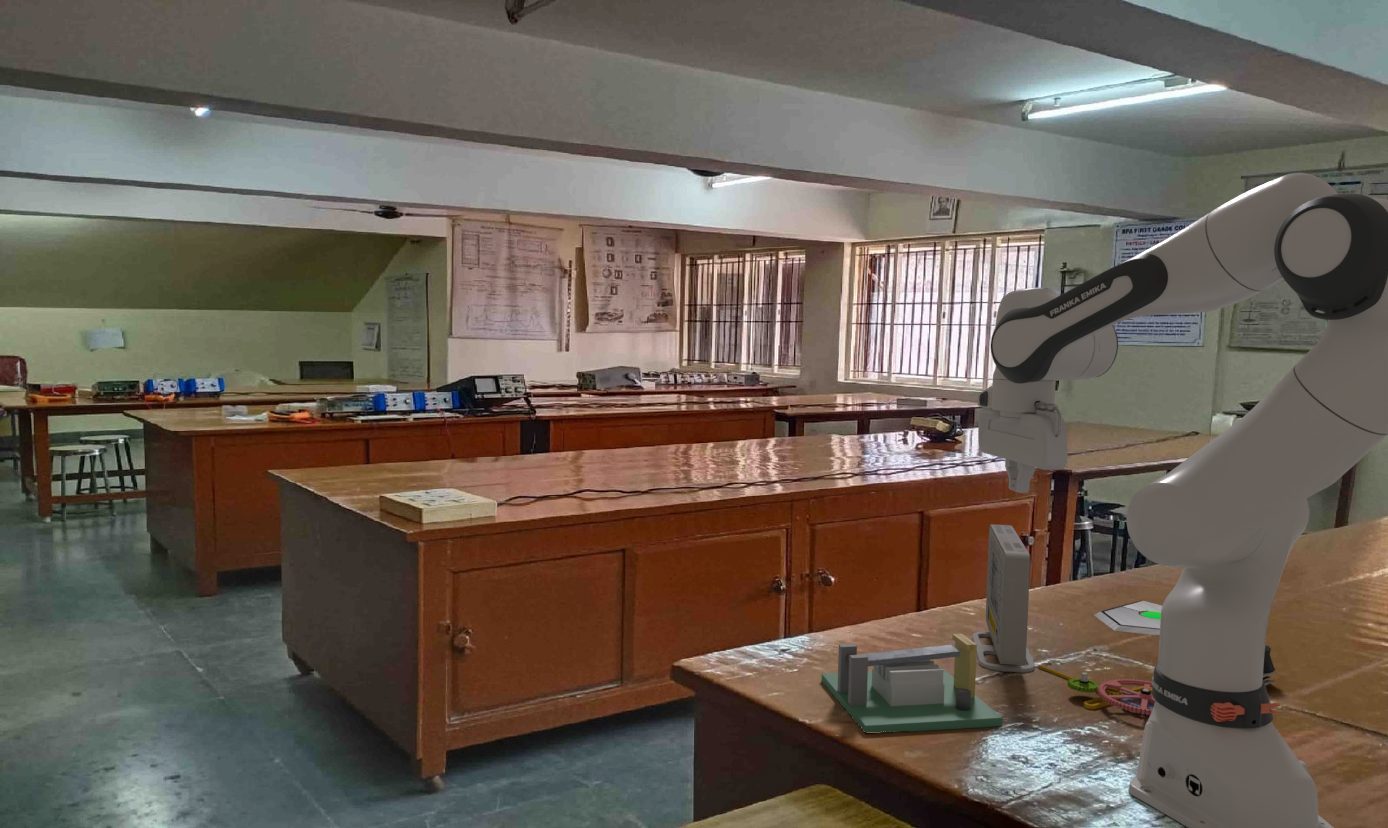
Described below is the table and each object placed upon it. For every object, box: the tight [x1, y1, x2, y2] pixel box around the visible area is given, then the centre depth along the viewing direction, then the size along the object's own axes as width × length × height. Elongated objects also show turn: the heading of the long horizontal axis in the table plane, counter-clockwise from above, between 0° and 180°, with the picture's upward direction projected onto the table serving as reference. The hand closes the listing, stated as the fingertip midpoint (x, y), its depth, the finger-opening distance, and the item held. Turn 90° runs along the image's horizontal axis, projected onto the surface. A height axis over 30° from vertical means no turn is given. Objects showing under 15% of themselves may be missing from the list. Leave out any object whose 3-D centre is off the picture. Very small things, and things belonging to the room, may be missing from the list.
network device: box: [972, 524, 1036, 673], centre depth 164 cm, size 26×9×20 cm, turn 168°
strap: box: [846, 644, 960, 667], centre depth 142 cm, size 3×16×1 cm, turn 100°
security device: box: [1093, 600, 1163, 636], centre depth 184 cm, size 17×22×2 cm
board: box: [821, 633, 1003, 733], centre depth 142 cm, size 20×20×9 cm
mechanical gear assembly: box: [1037, 664, 1155, 716], centre depth 145 cm, size 30×4×15 cm
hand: (1018, 491), depth 144 cm, fingers closed
